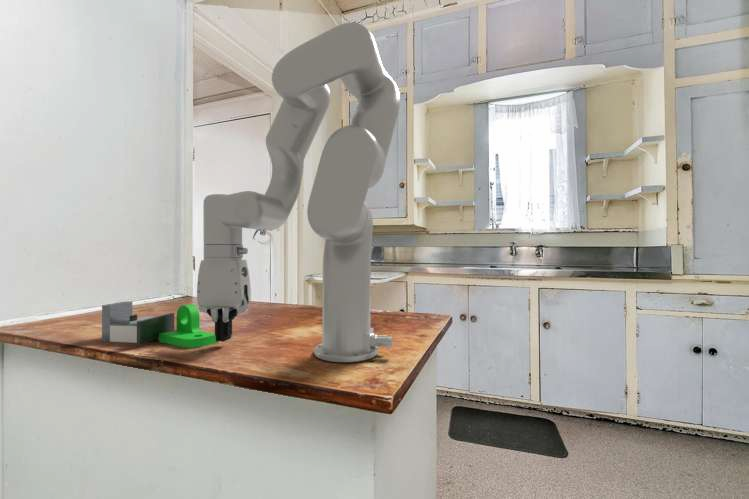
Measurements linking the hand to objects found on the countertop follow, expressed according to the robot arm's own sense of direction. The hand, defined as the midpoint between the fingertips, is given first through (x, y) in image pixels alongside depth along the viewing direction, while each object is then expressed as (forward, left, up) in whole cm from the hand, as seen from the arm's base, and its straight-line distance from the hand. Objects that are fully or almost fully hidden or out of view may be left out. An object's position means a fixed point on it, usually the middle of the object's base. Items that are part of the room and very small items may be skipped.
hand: (223, 339), depth 73 cm
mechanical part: (+10, -2, -2) cm, 10 cm away
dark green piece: (+20, -1, -1) cm, 20 cm away
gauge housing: (+24, -3, -1) cm, 25 cm away
